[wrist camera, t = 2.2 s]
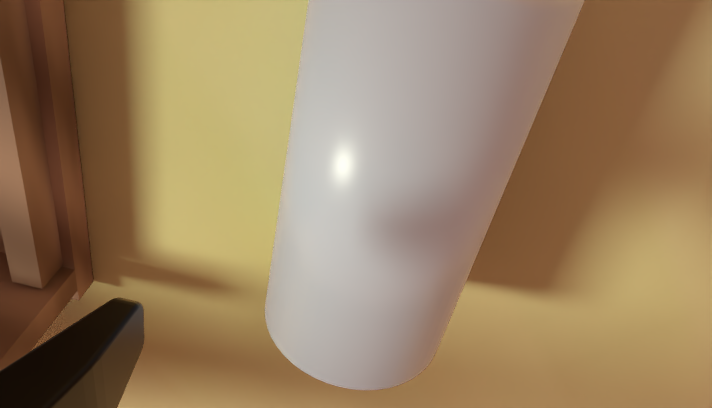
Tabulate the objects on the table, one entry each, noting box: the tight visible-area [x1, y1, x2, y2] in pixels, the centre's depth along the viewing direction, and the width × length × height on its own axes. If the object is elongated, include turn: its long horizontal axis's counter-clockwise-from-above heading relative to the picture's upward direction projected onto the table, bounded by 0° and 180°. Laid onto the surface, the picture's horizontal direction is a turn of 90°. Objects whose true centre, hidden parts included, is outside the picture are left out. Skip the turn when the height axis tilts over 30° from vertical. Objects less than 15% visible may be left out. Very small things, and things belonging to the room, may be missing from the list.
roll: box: [265, 0, 585, 390], centre depth 14 cm, size 10×5×5 cm, turn 169°
